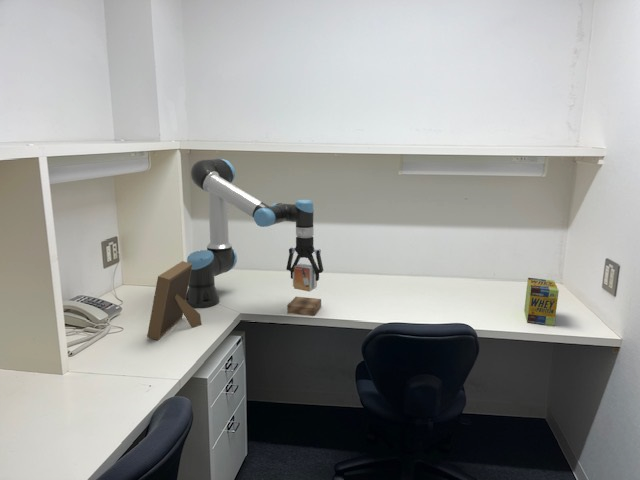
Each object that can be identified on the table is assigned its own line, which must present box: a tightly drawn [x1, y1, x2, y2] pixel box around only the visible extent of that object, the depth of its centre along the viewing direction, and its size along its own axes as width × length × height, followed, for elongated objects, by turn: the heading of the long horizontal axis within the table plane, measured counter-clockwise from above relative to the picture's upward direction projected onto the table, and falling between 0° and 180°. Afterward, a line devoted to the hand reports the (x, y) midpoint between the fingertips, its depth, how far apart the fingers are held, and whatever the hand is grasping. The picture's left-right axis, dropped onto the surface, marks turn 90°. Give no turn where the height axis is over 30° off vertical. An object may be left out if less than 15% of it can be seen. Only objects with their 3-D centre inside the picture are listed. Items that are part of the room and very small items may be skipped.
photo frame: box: [146, 260, 202, 341], centre depth 176 cm, size 15×22×25 cm
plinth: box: [287, 296, 322, 317], centre depth 200 cm, size 12×12×4 cm
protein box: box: [523, 277, 559, 327], centre depth 192 cm, size 10×15×16 cm
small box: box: [293, 263, 315, 292], centre depth 197 cm, size 8×6×10 cm
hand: (304, 286), depth 198 cm, fingers closed on small box, 9 cm apart
